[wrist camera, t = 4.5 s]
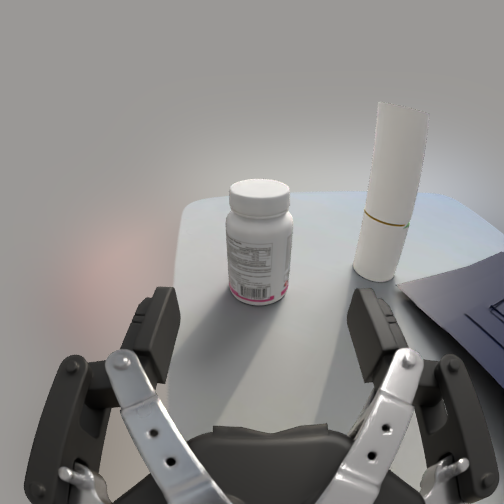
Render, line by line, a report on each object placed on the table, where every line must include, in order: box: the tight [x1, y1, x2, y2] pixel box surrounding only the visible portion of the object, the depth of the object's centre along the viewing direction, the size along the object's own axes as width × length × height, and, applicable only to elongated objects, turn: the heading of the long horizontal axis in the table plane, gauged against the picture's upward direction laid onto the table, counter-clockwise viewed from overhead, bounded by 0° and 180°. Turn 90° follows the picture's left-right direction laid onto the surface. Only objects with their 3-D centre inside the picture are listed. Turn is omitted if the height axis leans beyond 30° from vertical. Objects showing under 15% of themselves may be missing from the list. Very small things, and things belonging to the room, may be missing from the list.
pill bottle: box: [226, 179, 293, 305], centre depth 20 cm, size 5×5×8 cm
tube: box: [353, 102, 429, 282], centre depth 21 cm, size 4×4×15 cm
